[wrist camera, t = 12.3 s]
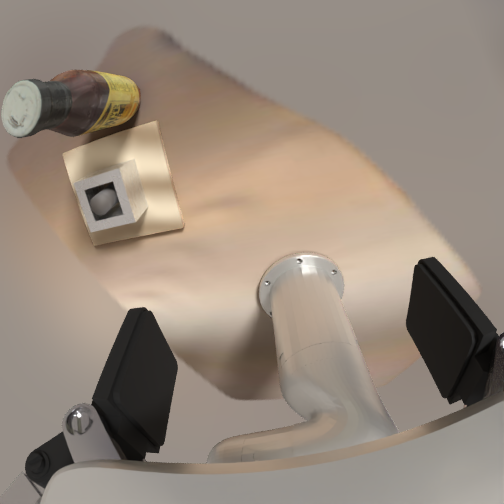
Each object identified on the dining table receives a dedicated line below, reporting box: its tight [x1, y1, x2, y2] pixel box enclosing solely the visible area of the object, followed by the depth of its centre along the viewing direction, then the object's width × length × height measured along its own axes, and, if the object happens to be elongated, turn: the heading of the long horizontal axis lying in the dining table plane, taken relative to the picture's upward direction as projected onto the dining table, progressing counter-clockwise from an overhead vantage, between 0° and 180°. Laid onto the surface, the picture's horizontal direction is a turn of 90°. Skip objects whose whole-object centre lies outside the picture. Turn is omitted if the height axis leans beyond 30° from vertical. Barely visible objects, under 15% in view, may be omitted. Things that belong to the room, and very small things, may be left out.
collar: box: [74, 159, 148, 232], centre depth 33 cm, size 6×6×5 cm
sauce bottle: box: [1, 70, 140, 138], centre depth 22 cm, size 6×6×20 cm
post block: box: [63, 120, 185, 246], centre depth 33 cm, size 14×14×7 cm
